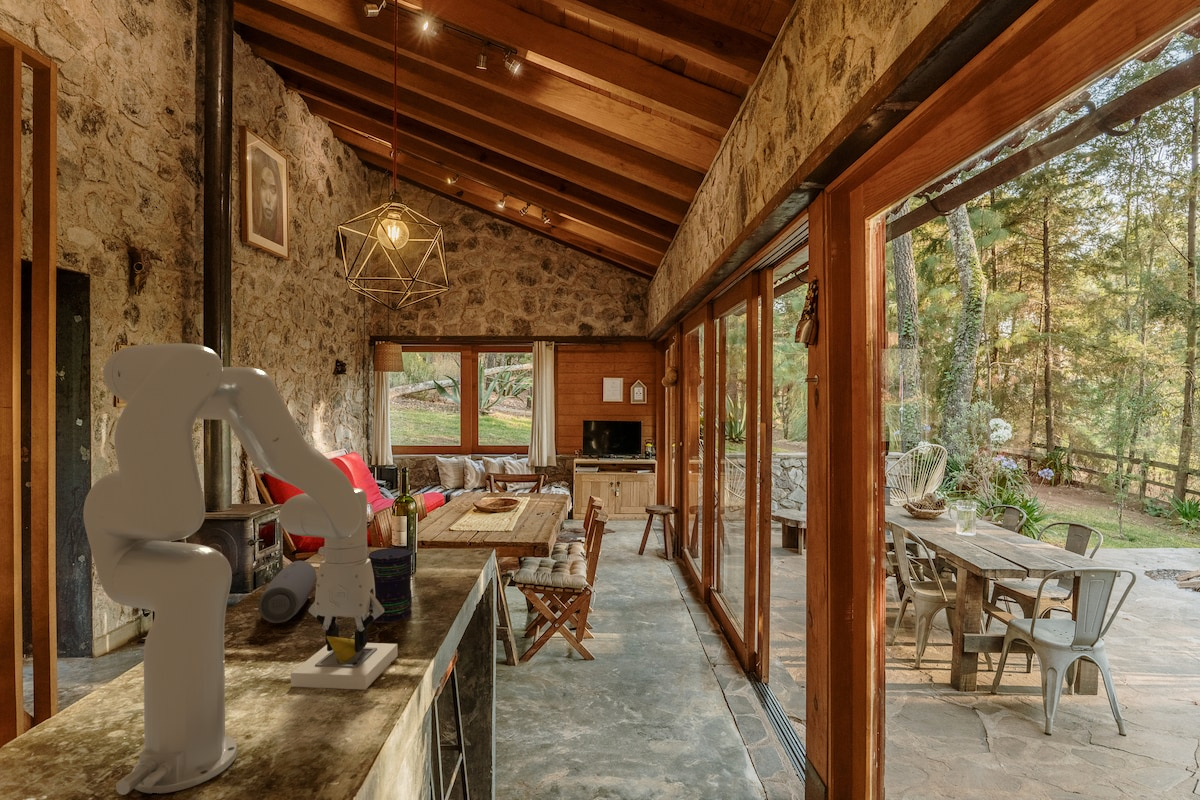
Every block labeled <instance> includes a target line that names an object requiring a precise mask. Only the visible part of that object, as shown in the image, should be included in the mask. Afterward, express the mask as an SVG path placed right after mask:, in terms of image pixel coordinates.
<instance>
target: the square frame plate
mask: <svg viewBox="0 0 1200 800" xmlns="http://www.w3.org/2000/svg"><path fill="white" fill-rule="evenodd" d="M363 651H364V652H365V653H364V654H363V655H362V656H361V657H360V659H361V660H357V661H356V662H355V663H356V664H355V663H354V664H352V665H349V664H338V663H337V661H336V655H335V653H334V651H333V650H332V651H327V645H326V644H325V645H324V646H323V647H322V648H321V649H319V650H318V651H317V652H315V653H314V654H313V655H312V656H311V657H309V658H308V659H307V660H305V661H304V662H303V663H301V664H300V665H299V666H298V667H296V668H295V669H294V670H293V671H291V672H290V687H292V688H293V687H294V688H313V689H314V688H317V689H319V688H320V689H337V690H338V689H341V690H343V689H345V690H361V691H362V690H367V689H368V688H369V687H370V686H371V685H372V684H373V683H374V682H375V680H377V678H379V676H380V675H382V673H383V672H384V671H385V670H386V669H387V668H388V667H389V666H390V665H391V664H392V663H393V661H394V660H395V659H397V657H398V656H399V655H398V654H399V653H398V643H387V642H386V643H382V642H381V643H380V642H379V643H378V642H367V644H366V646H365V647H364V648H363ZM391 662H392V663H391Z"/></svg>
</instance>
